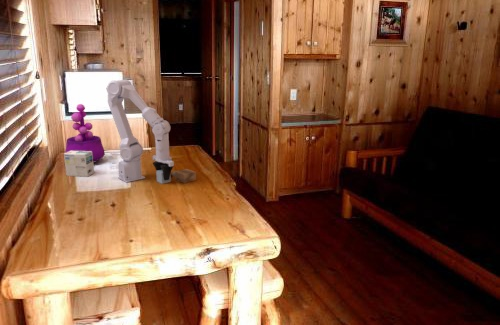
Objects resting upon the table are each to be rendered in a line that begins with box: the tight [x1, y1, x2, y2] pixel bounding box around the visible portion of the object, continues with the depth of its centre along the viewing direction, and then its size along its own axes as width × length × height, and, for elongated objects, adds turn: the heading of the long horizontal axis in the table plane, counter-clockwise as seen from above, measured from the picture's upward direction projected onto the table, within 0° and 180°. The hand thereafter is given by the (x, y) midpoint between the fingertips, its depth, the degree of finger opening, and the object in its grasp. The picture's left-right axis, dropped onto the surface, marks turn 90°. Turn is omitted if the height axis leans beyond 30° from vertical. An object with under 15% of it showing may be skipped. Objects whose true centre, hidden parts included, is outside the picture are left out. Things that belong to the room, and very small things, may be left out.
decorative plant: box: [64, 103, 106, 163], centre depth 203 cm, size 19×18×30 cm
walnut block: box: [174, 168, 197, 184], centre depth 182 cm, size 6×6×4 cm
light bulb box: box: [63, 151, 95, 178], centre depth 186 cm, size 11×7×11 cm, turn 84°
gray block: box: [155, 170, 172, 185], centre depth 179 cm, size 4×4×5 cm
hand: (163, 178), depth 179 cm, fingers closed on gray block, 4 cm apart
